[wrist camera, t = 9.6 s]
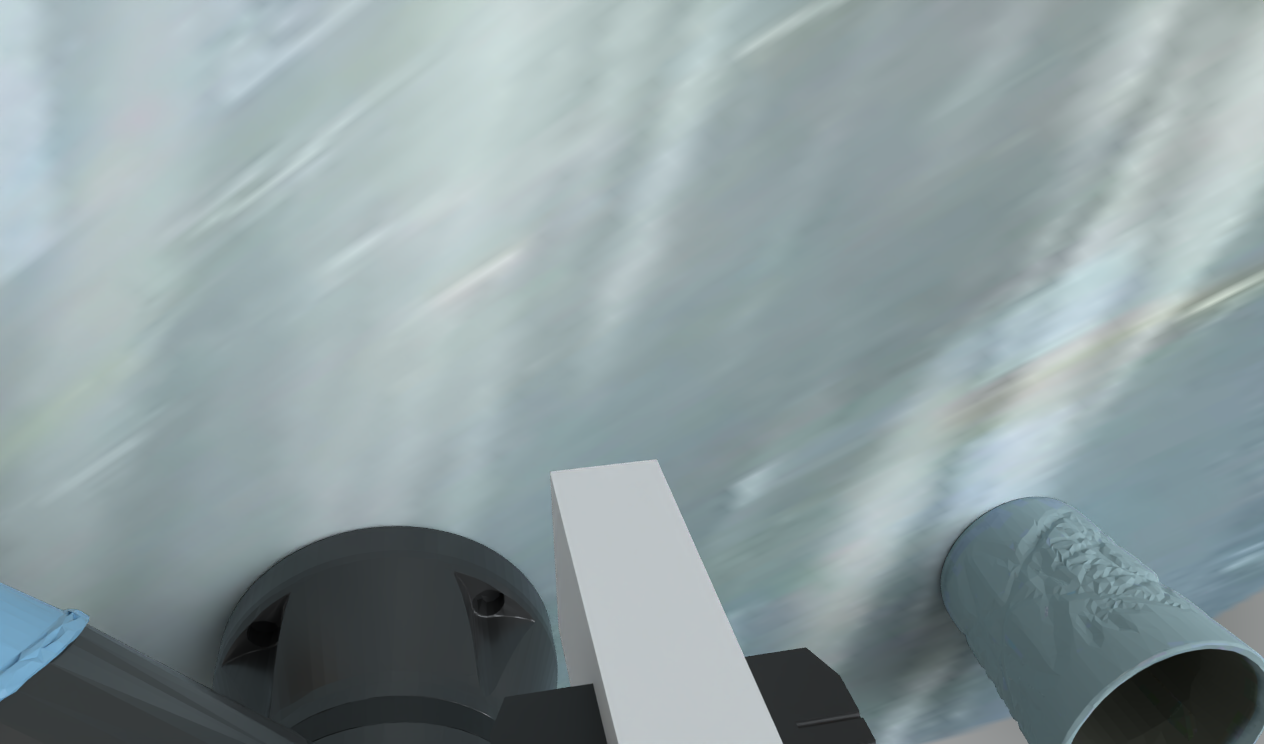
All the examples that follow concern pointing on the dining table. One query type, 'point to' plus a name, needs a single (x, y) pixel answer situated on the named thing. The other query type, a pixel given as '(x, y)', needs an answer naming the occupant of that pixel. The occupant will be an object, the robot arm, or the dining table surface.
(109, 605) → the dining table surface
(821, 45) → the dining table surface
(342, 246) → the dining table surface
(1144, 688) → the pale blue plant pot
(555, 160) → the dining table surface
